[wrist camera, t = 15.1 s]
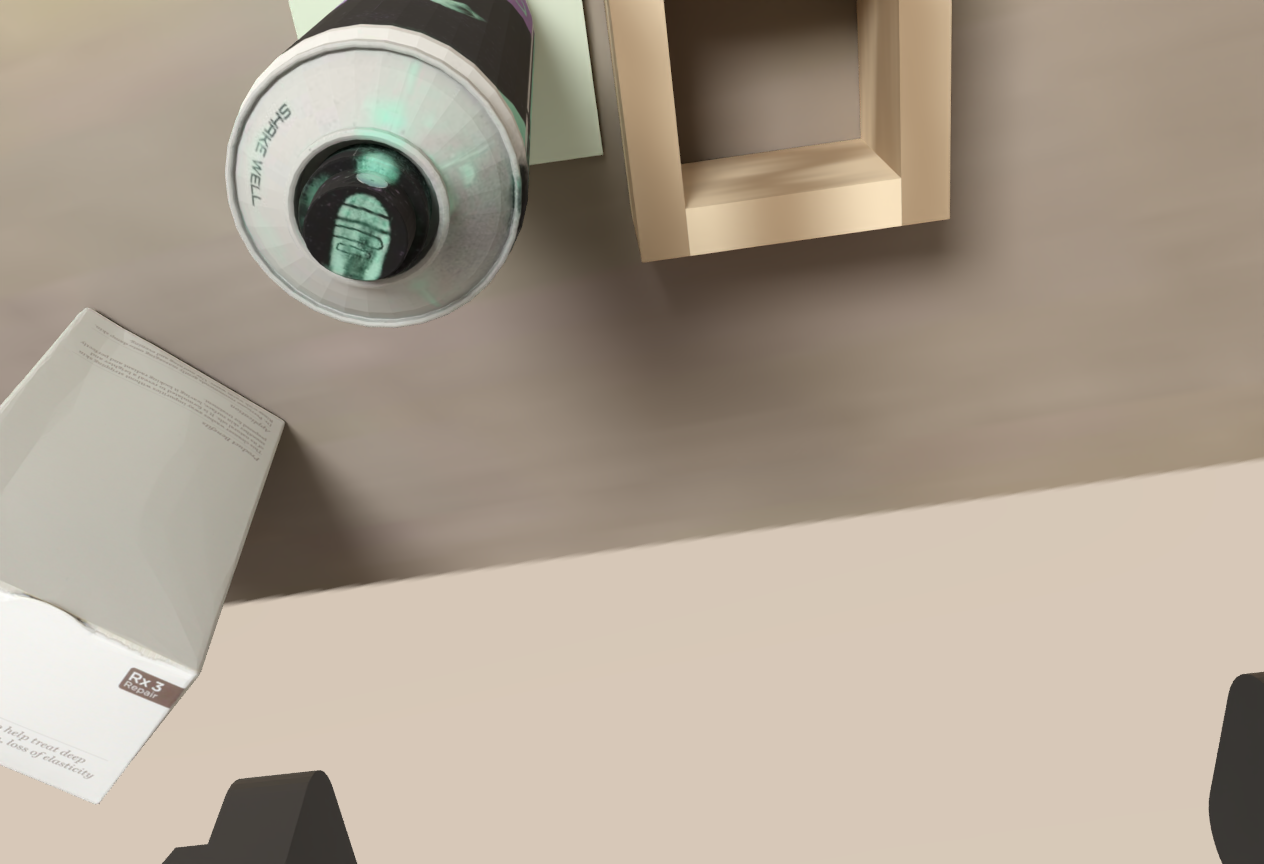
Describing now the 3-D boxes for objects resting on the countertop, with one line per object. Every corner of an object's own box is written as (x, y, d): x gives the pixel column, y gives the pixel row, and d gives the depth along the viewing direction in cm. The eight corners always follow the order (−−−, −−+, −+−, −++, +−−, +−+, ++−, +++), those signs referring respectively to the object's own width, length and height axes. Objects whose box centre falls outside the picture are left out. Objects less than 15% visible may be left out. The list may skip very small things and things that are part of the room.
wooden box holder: (901, -130, 35) (952, -124, 31) (904, 175, 40) (949, 218, 35) (592, -87, 35) (599, -74, 31) (631, 214, 40) (642, 262, 35)
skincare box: (16, 416, 42) (-227, 688, 28) (93, 293, 40) (-131, 524, 26) (223, 530, 44) (89, 824, 31) (304, 420, 42) (197, 685, 29)
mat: (561, -145, 34) (561, -144, 34) (602, 151, 38) (603, 154, 38) (265, -102, 34) (262, -102, 34) (339, 189, 38) (337, 192, 38)
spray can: (509, -77, 35) (472, 21, 17) (553, 101, 37) (561, 348, 20) (336, -35, 35) (121, 107, 17) (391, 140, 37) (255, 418, 20)
